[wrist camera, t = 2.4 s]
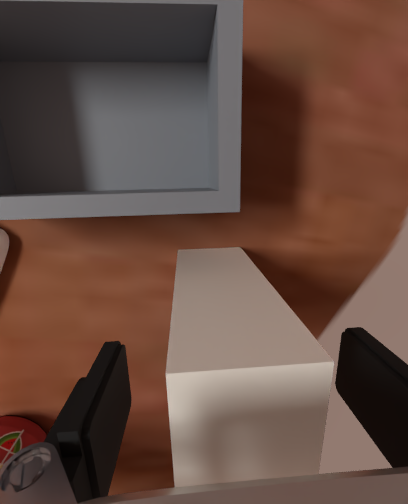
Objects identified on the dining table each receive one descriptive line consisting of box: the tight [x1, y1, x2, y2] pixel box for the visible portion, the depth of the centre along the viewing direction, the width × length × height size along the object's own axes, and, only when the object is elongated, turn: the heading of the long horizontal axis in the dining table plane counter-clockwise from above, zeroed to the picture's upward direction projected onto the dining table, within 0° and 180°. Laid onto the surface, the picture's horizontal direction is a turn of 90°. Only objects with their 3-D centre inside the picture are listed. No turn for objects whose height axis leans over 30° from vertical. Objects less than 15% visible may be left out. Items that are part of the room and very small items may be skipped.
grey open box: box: [0, 0, 243, 220], centre depth 13 cm, size 9×14×6 cm, turn 91°
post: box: [166, 247, 334, 487], centre depth 13 cm, size 4×4×12 cm
